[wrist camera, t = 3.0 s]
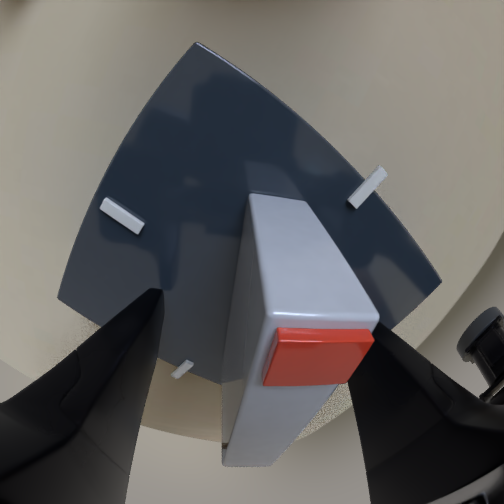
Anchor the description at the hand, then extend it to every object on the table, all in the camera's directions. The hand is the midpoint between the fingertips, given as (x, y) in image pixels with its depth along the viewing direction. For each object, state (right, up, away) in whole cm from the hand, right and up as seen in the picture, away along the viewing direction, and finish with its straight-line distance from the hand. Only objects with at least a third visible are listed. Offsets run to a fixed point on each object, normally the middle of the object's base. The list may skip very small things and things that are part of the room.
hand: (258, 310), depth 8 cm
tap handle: (0, 0, 0) cm, 0 cm away
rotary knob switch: (0, +2, +3) cm, 4 cm away
